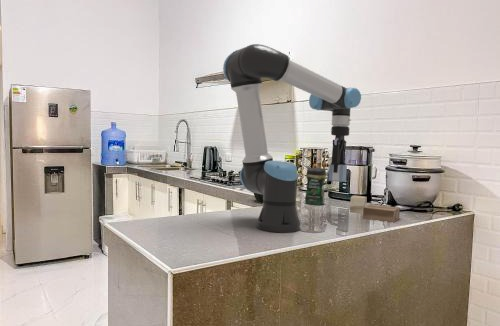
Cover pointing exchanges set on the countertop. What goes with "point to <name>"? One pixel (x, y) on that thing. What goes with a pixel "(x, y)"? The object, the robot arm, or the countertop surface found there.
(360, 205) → the birch block
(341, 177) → the slate block
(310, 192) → the coffee jar
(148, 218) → the countertop surface
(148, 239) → the countertop surface
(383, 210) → the walnut block
